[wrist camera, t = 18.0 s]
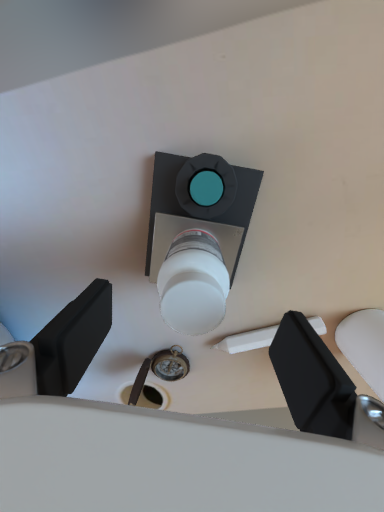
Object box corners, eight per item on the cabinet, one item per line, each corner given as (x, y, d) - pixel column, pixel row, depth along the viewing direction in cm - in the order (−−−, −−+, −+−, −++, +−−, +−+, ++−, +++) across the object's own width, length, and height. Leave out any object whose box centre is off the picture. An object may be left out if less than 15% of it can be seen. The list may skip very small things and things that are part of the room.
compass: (184, 379, 33) (180, 431, 26) (139, 368, 32) (123, 418, 26) (198, 345, 30) (198, 394, 23) (148, 333, 30) (134, 379, 23)
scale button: (193, 168, 18) (192, 168, 17) (224, 174, 19) (226, 174, 17) (188, 200, 20) (187, 202, 18) (217, 206, 20) (219, 208, 18)
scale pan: (156, 211, 20) (155, 212, 19) (243, 226, 20) (244, 227, 19) (149, 279, 23) (148, 282, 22) (225, 292, 23) (226, 294, 22)
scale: (158, 148, 20) (152, 143, 17) (261, 167, 21) (271, 165, 18) (147, 270, 26) (141, 282, 23) (229, 284, 26) (232, 296, 23)
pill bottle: (209, 281, 22) (216, 354, 13) (163, 266, 21) (137, 331, 12) (228, 237, 20) (253, 287, 11) (178, 219, 19) (160, 256, 10)
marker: (208, 339, 31) (315, 314, 28) (212, 353, 30) (320, 329, 28) (206, 344, 28) (323, 318, 25) (210, 359, 28) (329, 335, 25)
